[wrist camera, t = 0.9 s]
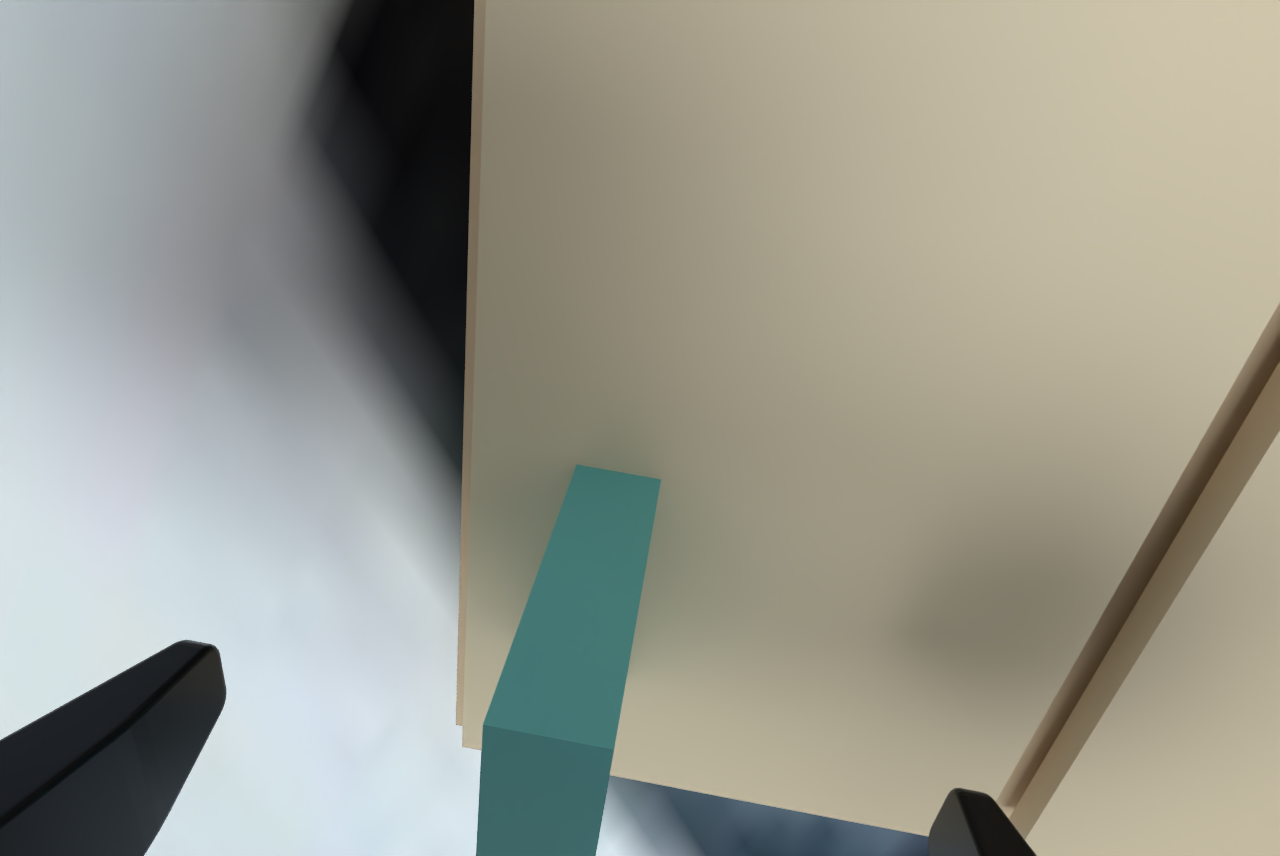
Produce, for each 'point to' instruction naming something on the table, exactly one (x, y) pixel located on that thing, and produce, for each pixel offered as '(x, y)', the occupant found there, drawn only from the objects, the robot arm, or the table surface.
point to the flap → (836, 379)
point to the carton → (1268, 352)
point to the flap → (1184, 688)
